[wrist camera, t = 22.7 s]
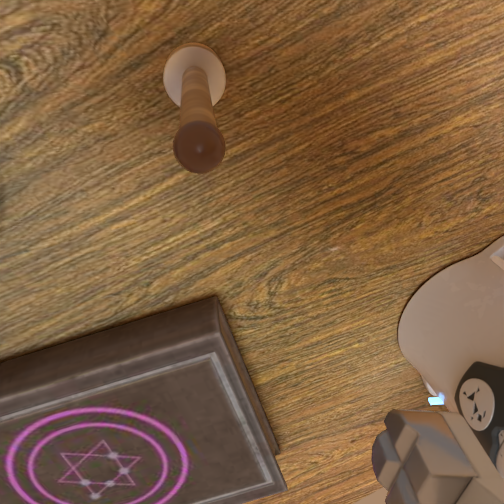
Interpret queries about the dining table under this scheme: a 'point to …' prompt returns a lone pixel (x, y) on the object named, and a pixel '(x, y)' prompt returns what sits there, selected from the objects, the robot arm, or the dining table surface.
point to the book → (137, 418)
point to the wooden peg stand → (196, 105)
